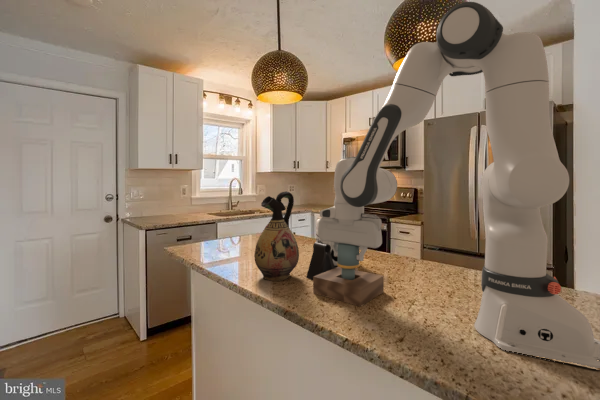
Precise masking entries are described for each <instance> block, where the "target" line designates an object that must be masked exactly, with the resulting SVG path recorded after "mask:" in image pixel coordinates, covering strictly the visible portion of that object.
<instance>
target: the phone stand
mask: <svg viewBox="0 0 600 400" xmlns="http://www.w3.org/2000/svg"><path fill="white" fill-rule="evenodd" d="M312 245H313V246H312V254H311V259H310V262H309V265H308V266H309V267H308V270H307V273H306V278H307V279H309V280H312V281H313V276H316V275H319V274H321V273H324V272H326V271H329V270H331V269H334V268H336V267H334V263H333V259H332V256H331V246H330V245H328V244H324V243H320V242H316V241H315V242H314V243H313V244H312Z"/></svg>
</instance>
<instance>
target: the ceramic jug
mask: <svg viewBox="0 0 600 400" xmlns="http://www.w3.org/2000/svg"><path fill="white" fill-rule="evenodd" d="M283 198H285V199H287V200H288V202H287V206H285V205H284V203H283V202H282V199H283ZM294 203H295V201H294V195H293V194H292V193H291V192H290V191H281V192H280V193H278V194H277V195H276V198H275V197H271V196H269V195H268V196H267V197H265V198H264V199H263V200H262V202H261V205H260V206H261V207H263V208H265V209H267V210H269V211H271V212H272V215H271V219H270V220H269V222H268V223H267V224H266V226H265V227H264V229H263V230H262V233H261V234H260V235H259V237H258V239H257V242H256V244H255V250H254V256H253V257H254V262H255V265H256V267H257V269H258V270H259V271H260V273H261V275H262V278H263V280H267V281H272V282H273V281H274V282H278V281H279V282H280V281H285V280H287V279H288V278H289V277H290V275H291V272H292V271H294V269H296V267H297V266H298V263H299V259H300V252H299V245H298V242H297V240H296V237H295V235H294V233H293V231H292V230H291V229H290V218H291V214H292V211H293V207H294ZM283 211H285V213H284V215H283Z"/></svg>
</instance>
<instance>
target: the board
mask: <svg viewBox="0 0 600 400" xmlns="http://www.w3.org/2000/svg"><path fill="white" fill-rule="evenodd" d="M341 271H342V268H340V267H335V268H334V269H331V270H329V271H326V272H324V273H321V274H319V275H316V276H313V280H312V284H313V285H312V291H313V292H312V293H313V294H316V295H319V296H323V297H326V298H330V299H333V300H336V301H340V302H344V303H347V304H351V305H354V306H357V307H362V306H363V305H365V304H367V303H368V302H370V301H372V300H373V299H375V298H377V297H379V295H381V294H383V293H384V285H385V284H384V282H385V281H384V279H385V276H384V275H380V274H377V273H373V272H372V273H371V272H366V271H362V270H356V269H355V279H354V280H348V279H343V278H341Z"/></svg>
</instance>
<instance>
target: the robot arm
mask: <svg viewBox="0 0 600 400" xmlns="http://www.w3.org/2000/svg"><path fill="white" fill-rule="evenodd" d="M503 31H504V26H503V25H502V23H501V22H500V21H499V20H498V19H497V17H496V16H495V15H494V14H493V13H492V11H491V10H490V9H489V8H488V7H486V6H485V5H483V4H481V3H478V2H475V1H464V2H461V3H457V4H456V5H455V6H453V7H451V8H450V9H448V10H447V12H446V13H445V14H444V15H443V16H442V17H441V19H440V21H439V23H438V26H437V29H436V41H434V42H432V41H421V42H417V43H415V44H413V45H412V47H410V48H409V50H408V52H407V53H406V54H405V57H404V59H402V61H401V64H400V66H399V68H398V70H397V73H396V75H395V77H394V79H393V82H392V84H391V88H390V89H389V92H388V95H387V97H386V99H385V101H384V103H383V105H382V107H381V108H380V109H379V111H378V112H377V113H376V115H375V117H374V119H373V120H372V122H371V125H370V126H369V128H368V130H367V133H366V135H365V137H364V139H363V141H362V144H361V146H360V148H359V150H358V153H357V154H356V156H350V157H344V158H341V159H340V160H338V161H337V163H336V164H335V169H334V175H333V176H334V179H333V188H334V194H335V195H334V197H335V198H334V200H333V206H331V207H329V208H325V209H321V210H320V211H319V217H320V218H321V219H320V218H319V219H320V220H319V226H318V236H319V238H320V240H324V241H331V247H332V249H333V251H334V256H335V257H338V247H337V245H338V243H344V244H350V245H357V246H359V254H357V255H356V260H357V261H359V262H364V255H365V254H366V252H367V250H368V248H370V249H371V248H372V249H378V248H380V247H381V246H382V244H383V235H382V225H383V224H382V219H381V218H380V217H379V216H378V215H377V214H369V213H365V206H368V205H373V204H374V205H375V204H379V203H384V202H387V201H389V200H391V199H392V198H394V196H395V195H396V193H397V190H398V181H397V180H398V179H397V178H396V175H395V174H394V173H393V172H392V171H390V170H387V169H385V168H382V167H381V164H382V163H383V161H384V159H385V157H386V154H387V152H388V150H389V149H390V146H391V144H392V142H393V141H394V140H395V138H397V137H398V136H399V135H400V134H401V133H402V132H404V131H406V130H408V129H410V128H413V127H415V126H417V125H419V124H421V123H422V122H423V121H424V119H425V118H426V117H427V115H428V113H429V112H430V111H431V108H432V107H433V104H434V102H435V100H436V97H437V95H438V92H439V90H440V88H441V85H442V84H443V83H442V82H443V81H444V80H445V78H446V77H447V76H448V75H449V76H451V77H461V76H473V75H479V74H483V76H484V91H485V92H484V98H485V101H484V102H485V127H486V128H485V129H486V134H487V135H488V137H489V142H490V143H489V144H490V148H491V152H492V153H491V154H492V158H493V159H492V160H493V162H491V163H490V164H489V165H488V166H487V167H486V168H485V169H484V171H483V173H482V174H481V175H482V176H481V178H480V179H481V180H480V184H481V185H480V186H481V192H482V193H481V194H482V195H481V197H482V207H483V210H482V211H483V218H484V219H483V220H484V226H485V227H484V228H485V246H484V249H485V251H484V252H485V253H484V265H483V266H482V269H481V278H480V279H481V280H480V281H481V291H482V296H481V300H480V307H479V310H478V313H477V317H476V320H475V322H474V323H473V324H474V328H475V330H476V331H477V332H478V334H480V335H482V336H484V338H486V339H488V340H490V341H492V342H493V344H494V345H496V346H497V347H498V348H501V350H502V351H505V350H506V351H505V352H509V351H512V352H511V353H514V352H517V353H516V354H518V353H522V354H521V355H523V354H527V355H533V356H539V357H545V358H549V359H556V360H561V361H565V362H573V363H577V364H581V365H587V366H590V367H595V368H600V340H599V339H597V338H595V335H594V331H593V329H592V326H591V323H590V321H589V320H588V318H587V316H586V315H585V314H583V312H581V311H580V310H579V309H577V308H576V307H575V306H573V305H572V304H570V303H569V302H568V301H567V300H566V299H564V298H563V297H562V296H560V293H561V291H562V289H561V288H562V286H561V285H560V283H559V281H558V279H557V278H556V276H551V275H550V274H548V273H547V263H548V261H547V260H548V239H549V238H548V235H547V232H546V230H545V227H544V224H543V218H542V213H541V208H544V207H548V206H550V205H552V204H554V203H556V202H558V201H560V199H562V198H563V196H564V195H565V194H566V193H567V191H568V188H569V186H570V174H569V172H568V169H567V168H566V166H565V165H564V164H563V163H562V162H561V160H560V157H559V153H558V149H557V146H556V142H555V139H554V135H553V134H554V133H553V131H552V125H551V118H550V117H551V116H550V114H551V113H550V87H549V85H550V84H549V83H550V81H549V79H550V78H549V69H548V68H549V67H548V61H547V56H546V52H545V47H544V44H543V41H542V39H541V38H540V36H539V35H538V34H536V33H533V32H528V31H521V32H514V33H511V34H510V33H509V34H506V33H503ZM527 355H526V356H527ZM597 360H599V361H597Z"/></svg>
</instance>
